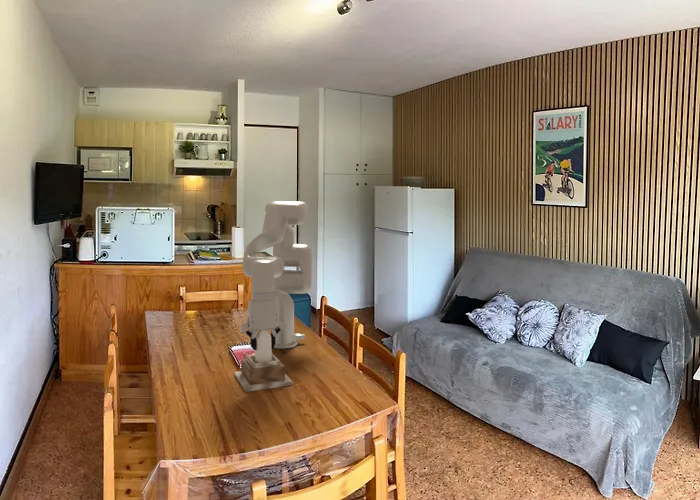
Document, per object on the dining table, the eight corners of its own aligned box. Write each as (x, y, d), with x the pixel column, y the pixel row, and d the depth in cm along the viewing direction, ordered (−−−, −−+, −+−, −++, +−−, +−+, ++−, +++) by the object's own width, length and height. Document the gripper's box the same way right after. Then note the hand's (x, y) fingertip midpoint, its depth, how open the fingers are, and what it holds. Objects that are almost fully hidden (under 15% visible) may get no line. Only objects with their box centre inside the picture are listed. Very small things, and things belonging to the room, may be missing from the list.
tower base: (278, 369, 193) (278, 348, 192) (292, 384, 179) (292, 362, 178) (234, 375, 186) (234, 354, 185) (245, 391, 172) (245, 369, 171)
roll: (274, 325, 182) (265, 329, 176) (274, 359, 183) (266, 364, 178) (260, 323, 184) (250, 327, 179) (260, 356, 186) (251, 361, 180)
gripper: (284, 292, 186) (283, 342, 188) (235, 295, 179) (235, 347, 181) (290, 296, 179) (290, 348, 181) (240, 300, 172) (240, 354, 174)
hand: (263, 347), depth 181 cm, fingers closed on roll, 5 cm apart
